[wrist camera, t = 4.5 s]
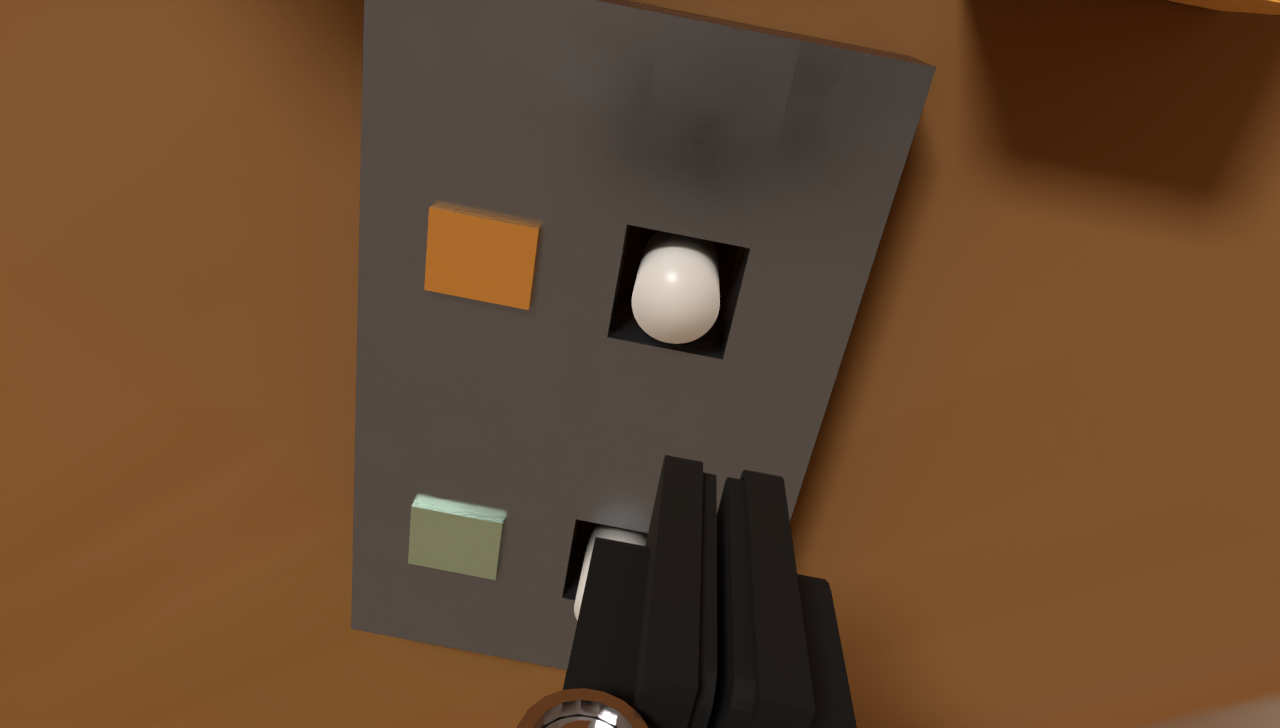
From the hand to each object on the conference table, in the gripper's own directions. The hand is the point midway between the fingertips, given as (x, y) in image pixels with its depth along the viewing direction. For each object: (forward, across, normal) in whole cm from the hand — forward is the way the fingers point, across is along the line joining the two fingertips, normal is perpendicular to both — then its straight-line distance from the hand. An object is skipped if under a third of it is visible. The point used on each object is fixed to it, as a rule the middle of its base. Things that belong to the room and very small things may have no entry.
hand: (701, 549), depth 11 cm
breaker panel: (+15, +3, +5) cm, 16 cm away
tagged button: (+15, +1, +1) cm, 15 cm away
